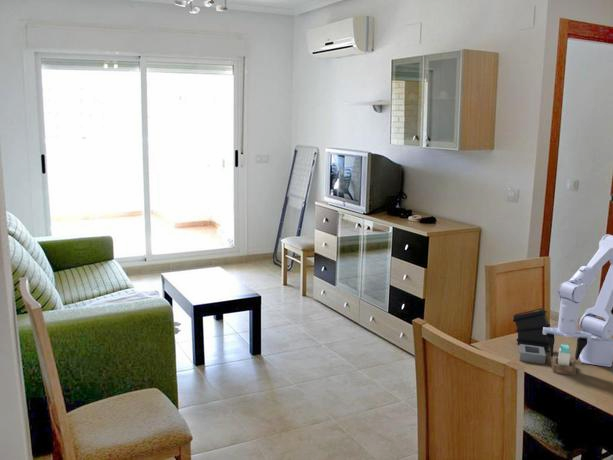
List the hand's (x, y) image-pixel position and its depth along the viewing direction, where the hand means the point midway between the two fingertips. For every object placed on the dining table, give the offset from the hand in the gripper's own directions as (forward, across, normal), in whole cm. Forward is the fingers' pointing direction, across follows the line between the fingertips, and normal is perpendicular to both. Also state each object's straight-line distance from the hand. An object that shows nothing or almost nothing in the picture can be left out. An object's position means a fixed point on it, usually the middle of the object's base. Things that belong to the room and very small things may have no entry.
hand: (563, 357), depth 191 cm
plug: (+4, 0, 0) cm, 4 cm away
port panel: (+4, -9, +6) cm, 12 cm away
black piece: (+4, -9, +17) cm, 20 cm away
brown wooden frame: (+4, 0, 0) cm, 4 cm away
